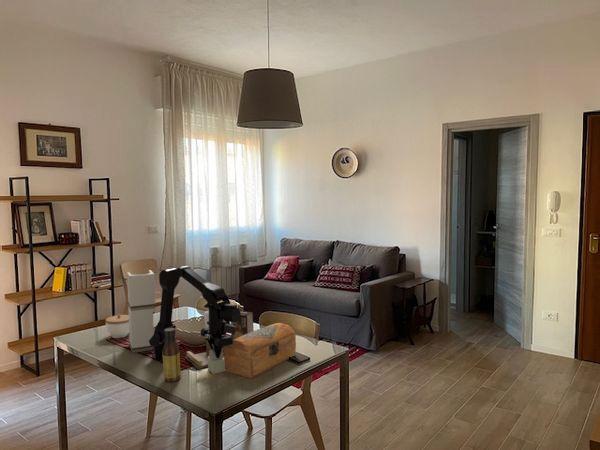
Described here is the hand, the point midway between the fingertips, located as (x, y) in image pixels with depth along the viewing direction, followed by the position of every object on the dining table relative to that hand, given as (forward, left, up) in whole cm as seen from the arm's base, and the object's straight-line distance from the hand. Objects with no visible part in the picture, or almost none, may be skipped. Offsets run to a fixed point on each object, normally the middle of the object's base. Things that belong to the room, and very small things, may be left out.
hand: (216, 357), depth 183 cm
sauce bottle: (-18, +1, -6) cm, 19 cm away
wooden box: (+19, -4, -6) cm, 20 cm away
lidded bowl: (-22, +69, -6) cm, 73 cm away
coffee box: (+21, +18, -6) cm, 29 cm away
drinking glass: (+12, +32, -6) cm, 35 cm away
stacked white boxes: (-17, +45, -6) cm, 49 cm away
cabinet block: (0, 0, -5) cm, 5 cm away
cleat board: (0, +12, -5) cm, 14 cm away
